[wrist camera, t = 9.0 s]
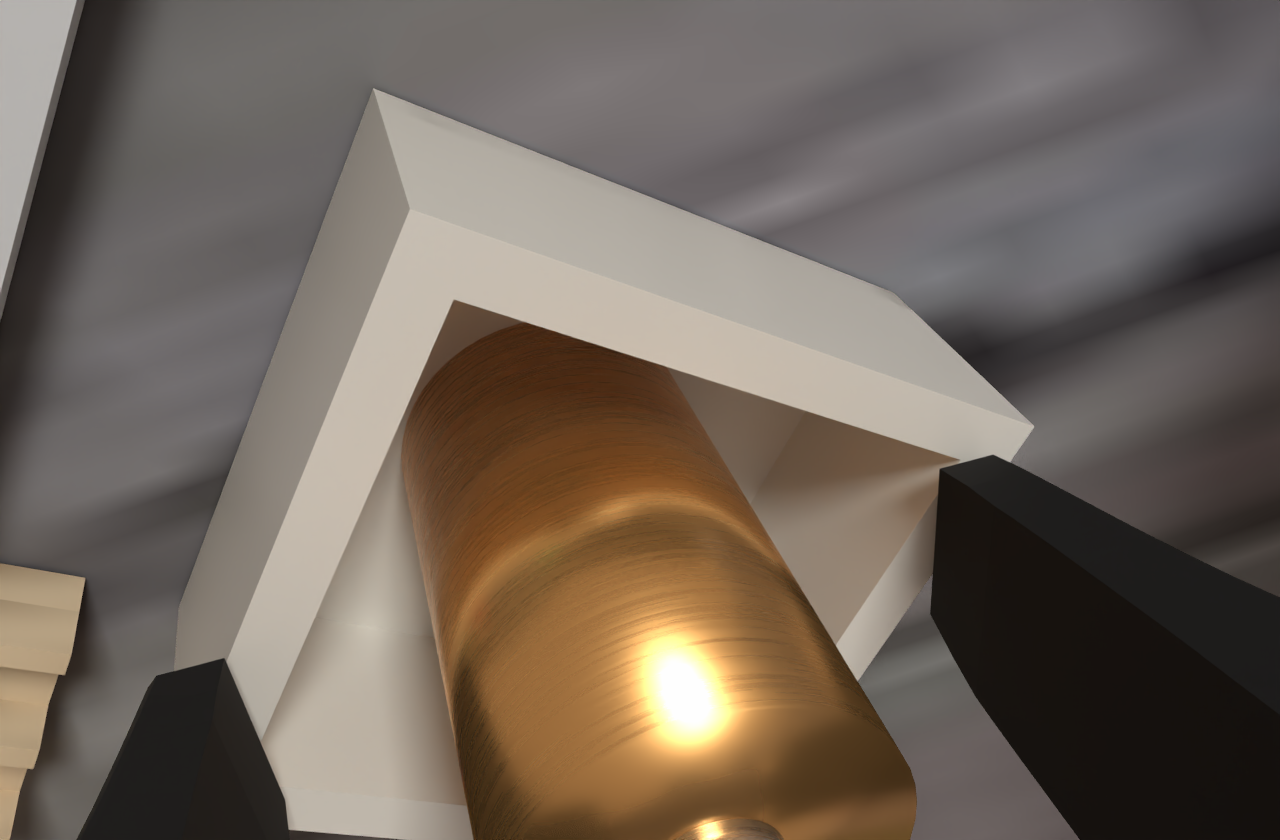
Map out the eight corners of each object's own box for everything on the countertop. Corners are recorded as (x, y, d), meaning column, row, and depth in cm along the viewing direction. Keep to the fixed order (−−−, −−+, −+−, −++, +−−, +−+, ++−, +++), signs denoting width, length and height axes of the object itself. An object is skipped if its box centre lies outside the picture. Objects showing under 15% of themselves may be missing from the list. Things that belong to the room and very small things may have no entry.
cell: (664, 285, 13) (945, 691, 8) (698, 516, 15) (938, 965, 10) (367, 363, 12) (449, 855, 7) (440, 592, 14) (549, 1109, 9)
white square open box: (893, 292, 14) (1034, 426, 12) (655, 687, 17) (728, 867, 14) (373, 88, 11) (409, 208, 9) (178, 607, 14) (162, 818, 11)
